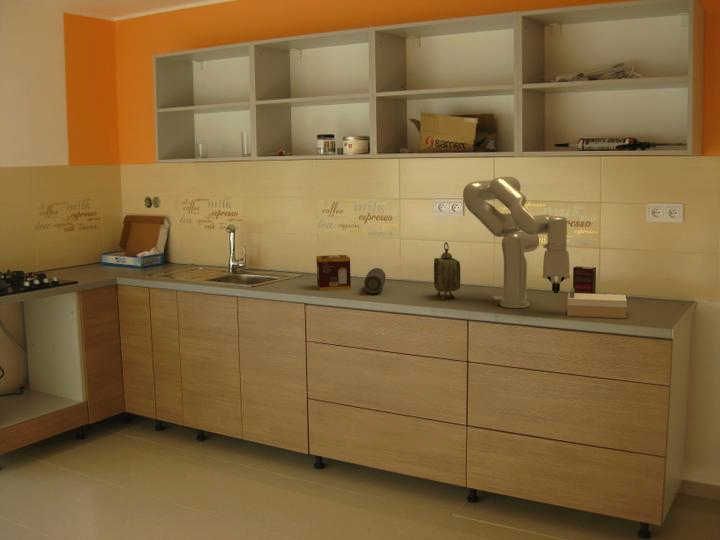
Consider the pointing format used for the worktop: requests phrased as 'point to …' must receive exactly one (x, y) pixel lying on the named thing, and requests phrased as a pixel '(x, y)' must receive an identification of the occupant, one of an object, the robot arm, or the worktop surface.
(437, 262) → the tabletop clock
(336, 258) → the supplement box
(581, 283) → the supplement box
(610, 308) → the mailer base
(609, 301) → the mailer lid
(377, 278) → the bluetooth speaker
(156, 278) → the worktop surface
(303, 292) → the worktop surface
